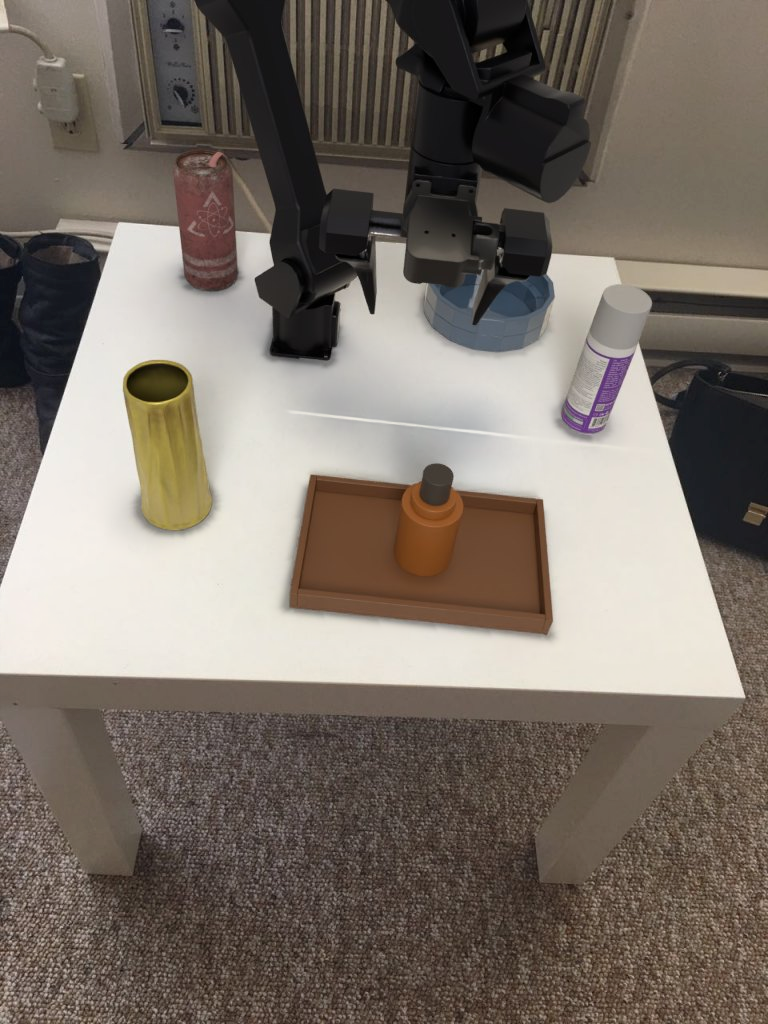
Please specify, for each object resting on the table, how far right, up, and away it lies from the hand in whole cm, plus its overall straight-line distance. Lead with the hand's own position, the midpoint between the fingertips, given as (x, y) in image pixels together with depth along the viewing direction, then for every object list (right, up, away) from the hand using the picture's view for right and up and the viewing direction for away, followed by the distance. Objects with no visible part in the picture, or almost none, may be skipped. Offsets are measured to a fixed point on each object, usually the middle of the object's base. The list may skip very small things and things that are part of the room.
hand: (423, 317), depth 74 cm
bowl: (+8, +5, +21) cm, 23 cm away
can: (-24, +10, +22) cm, 34 cm away
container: (+17, -8, +11) cm, 22 cm away
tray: (0, -21, -3) cm, 22 cm away
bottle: (0, -21, -3) cm, 21 cm away
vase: (-22, -17, -1) cm, 28 cm away
